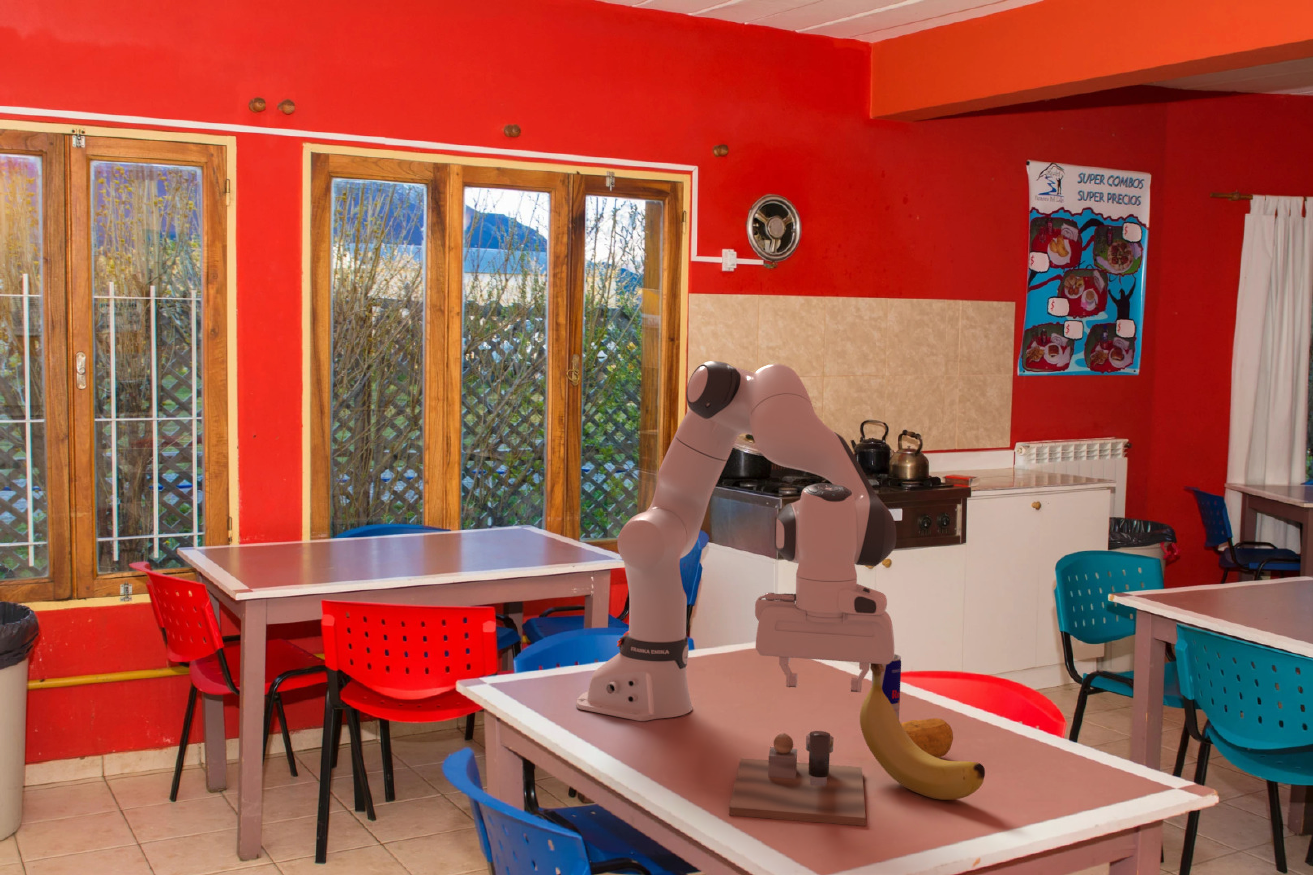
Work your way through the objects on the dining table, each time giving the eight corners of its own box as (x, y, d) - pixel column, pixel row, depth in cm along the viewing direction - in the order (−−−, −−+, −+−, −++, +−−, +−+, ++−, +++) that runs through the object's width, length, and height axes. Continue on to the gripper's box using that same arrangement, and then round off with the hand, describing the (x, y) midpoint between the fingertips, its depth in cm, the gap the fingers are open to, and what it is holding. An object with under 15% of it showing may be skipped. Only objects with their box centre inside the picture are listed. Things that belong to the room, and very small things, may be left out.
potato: (869, 761, 201) (870, 720, 200) (935, 750, 207) (936, 710, 207) (895, 774, 194) (897, 732, 194) (963, 763, 201) (964, 722, 200)
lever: (806, 744, 193) (807, 696, 193) (833, 745, 193) (834, 698, 192) (803, 788, 173) (804, 736, 172) (833, 791, 172) (835, 738, 172)
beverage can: (898, 741, 211) (901, 659, 210) (869, 739, 212) (872, 657, 211) (898, 732, 216) (901, 652, 215) (870, 730, 217) (873, 650, 216)
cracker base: (740, 765, 197) (741, 720, 196) (861, 774, 194) (863, 729, 193) (729, 814, 175) (730, 764, 175) (865, 825, 172) (867, 775, 172)
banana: (992, 807, 181) (998, 679, 179) (972, 816, 177) (977, 686, 175) (872, 768, 197) (876, 650, 196) (850, 775, 193) (855, 656, 192)
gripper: (752, 595, 171) (750, 688, 172) (895, 604, 167) (892, 699, 168) (758, 587, 178) (756, 677, 178) (896, 595, 173) (893, 688, 174)
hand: (823, 688), depth 173 cm, fingers open, 8 cm apart
